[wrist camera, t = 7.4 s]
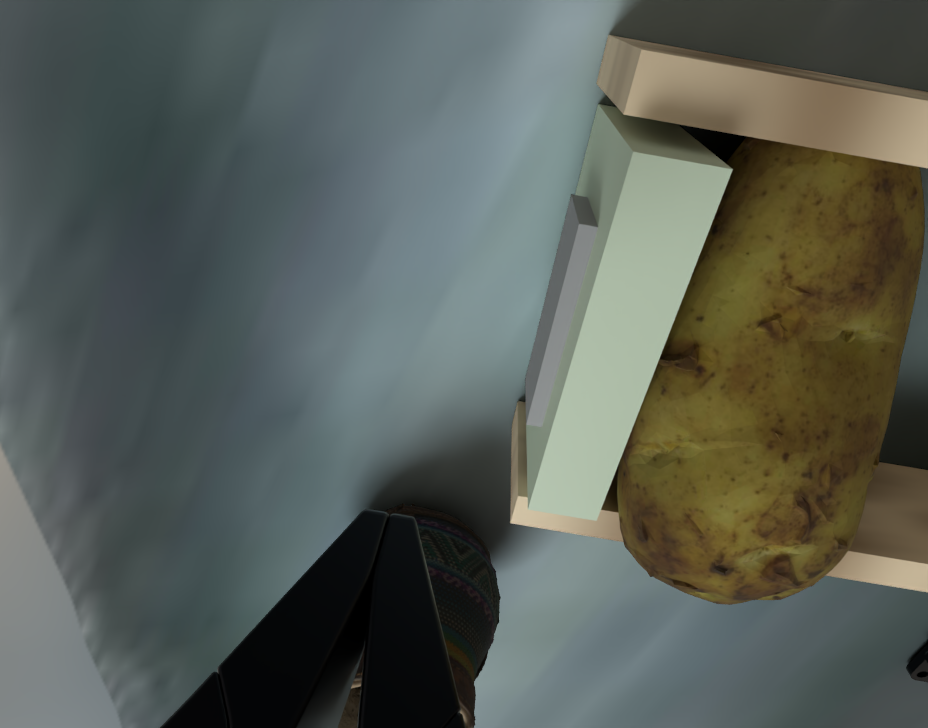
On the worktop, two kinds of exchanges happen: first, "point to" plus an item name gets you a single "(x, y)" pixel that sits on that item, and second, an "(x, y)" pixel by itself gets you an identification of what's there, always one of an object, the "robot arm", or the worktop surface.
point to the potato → (775, 376)
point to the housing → (793, 122)
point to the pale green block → (613, 301)
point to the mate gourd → (452, 603)
